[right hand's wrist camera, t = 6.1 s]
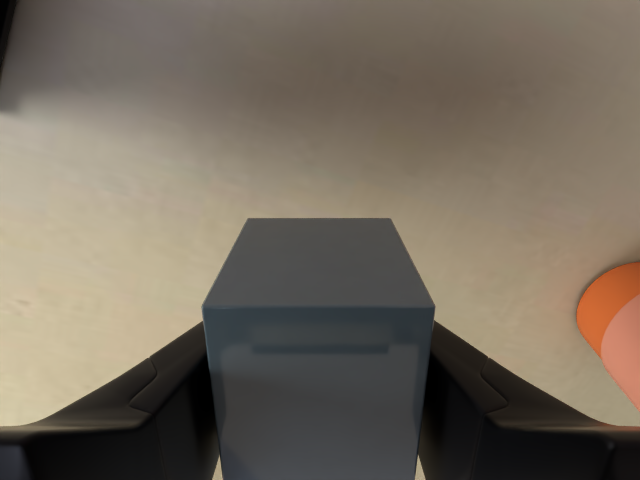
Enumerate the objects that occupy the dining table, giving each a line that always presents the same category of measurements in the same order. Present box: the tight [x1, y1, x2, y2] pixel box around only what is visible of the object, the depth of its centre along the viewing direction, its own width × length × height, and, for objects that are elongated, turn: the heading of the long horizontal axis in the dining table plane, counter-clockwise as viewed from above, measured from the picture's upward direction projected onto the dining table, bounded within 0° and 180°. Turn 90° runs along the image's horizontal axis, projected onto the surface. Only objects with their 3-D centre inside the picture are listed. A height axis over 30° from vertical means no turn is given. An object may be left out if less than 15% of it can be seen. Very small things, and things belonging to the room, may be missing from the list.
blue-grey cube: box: [201, 218, 435, 480], centre depth 10 cm, size 4×5×5 cm
